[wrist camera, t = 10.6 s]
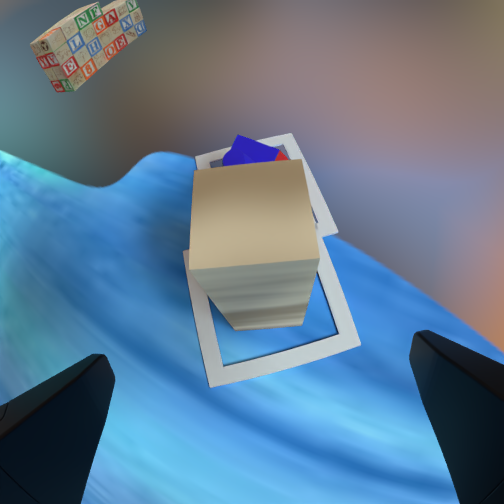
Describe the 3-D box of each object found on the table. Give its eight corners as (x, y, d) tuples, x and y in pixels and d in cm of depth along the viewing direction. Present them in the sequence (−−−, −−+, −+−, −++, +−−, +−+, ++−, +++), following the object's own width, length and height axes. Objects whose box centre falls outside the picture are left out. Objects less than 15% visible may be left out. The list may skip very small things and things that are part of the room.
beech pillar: (302, 325, 20) (320, 258, 10) (235, 330, 20) (188, 269, 10) (295, 264, 22) (301, 159, 12) (233, 270, 22) (194, 170, 12)
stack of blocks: (126, 33, 48) (110, -11, 37) (147, 31, 47) (132, -17, 35) (56, 93, 40) (28, 43, 29) (74, 92, 39) (45, 37, 28)
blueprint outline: (378, 338, 19) (379, 337, 19) (210, 387, 19) (209, 387, 19) (291, 134, 28) (291, 132, 28) (171, 165, 27) (170, 164, 27)
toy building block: (240, 196, 27) (193, 177, 19) (261, 153, 26) (221, 120, 19) (275, 212, 26) (237, 197, 18) (296, 168, 25) (267, 135, 18)
